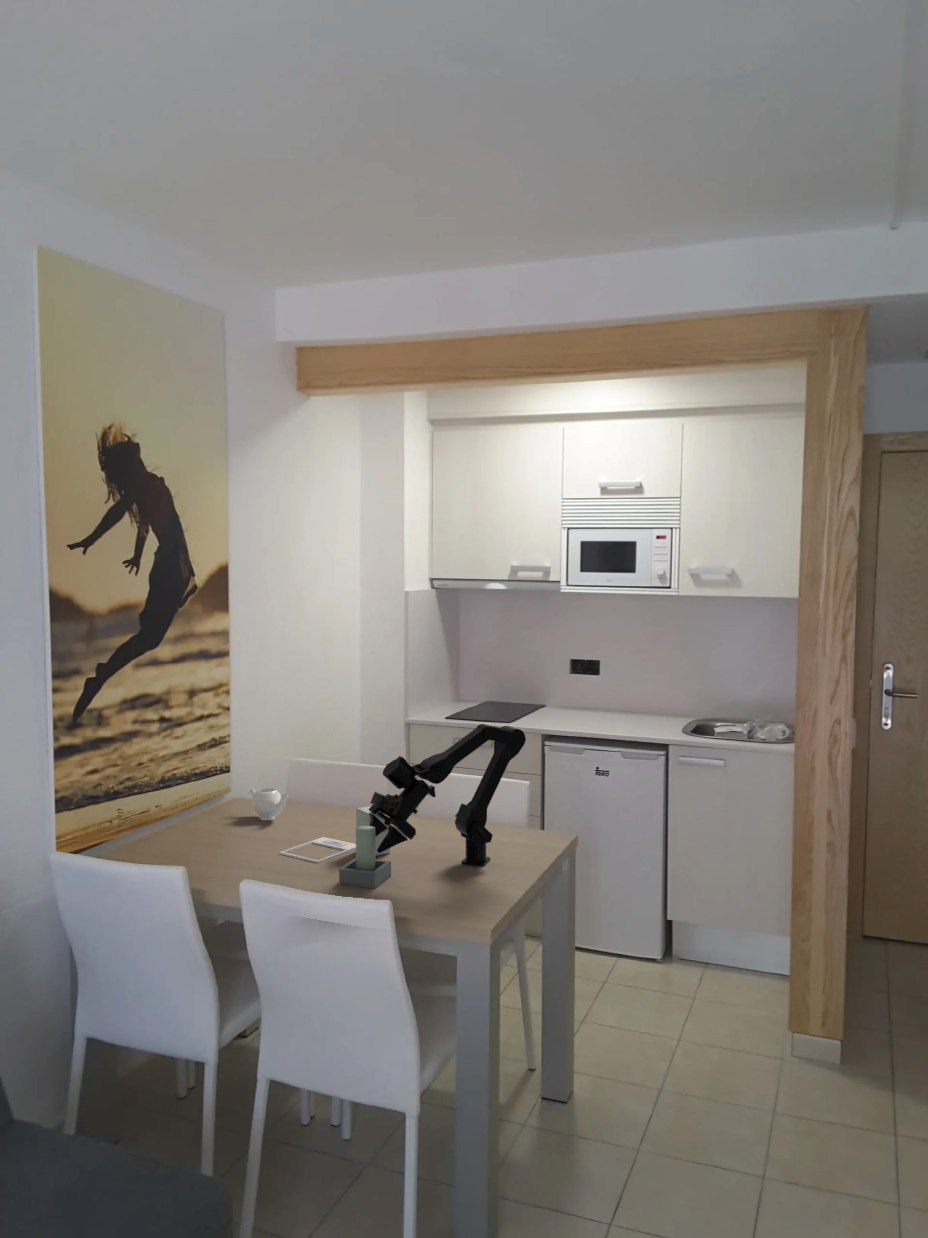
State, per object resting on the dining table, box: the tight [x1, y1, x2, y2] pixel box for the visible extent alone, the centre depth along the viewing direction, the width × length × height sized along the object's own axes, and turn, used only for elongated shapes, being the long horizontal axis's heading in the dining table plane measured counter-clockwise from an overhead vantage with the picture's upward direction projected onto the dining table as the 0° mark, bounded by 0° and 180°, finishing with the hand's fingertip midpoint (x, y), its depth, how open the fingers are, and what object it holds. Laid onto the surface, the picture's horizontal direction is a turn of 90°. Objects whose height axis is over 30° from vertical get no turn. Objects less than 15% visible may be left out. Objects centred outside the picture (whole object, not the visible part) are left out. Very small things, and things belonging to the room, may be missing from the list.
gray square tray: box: [338, 857, 392, 890], centre depth 250 cm, size 10×10×4 cm
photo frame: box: [279, 836, 356, 864], centre depth 276 cm, size 15×1×18 cm
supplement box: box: [355, 805, 391, 857], centre depth 273 cm, size 7×7×13 cm
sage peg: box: [355, 826, 376, 871], centre depth 250 cm, size 5×5×13 cm
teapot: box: [247, 787, 289, 821], centre depth 309 cm, size 10×20×9 cm, turn 49°
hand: (371, 847), depth 251 cm, fingers open, 9 cm apart
